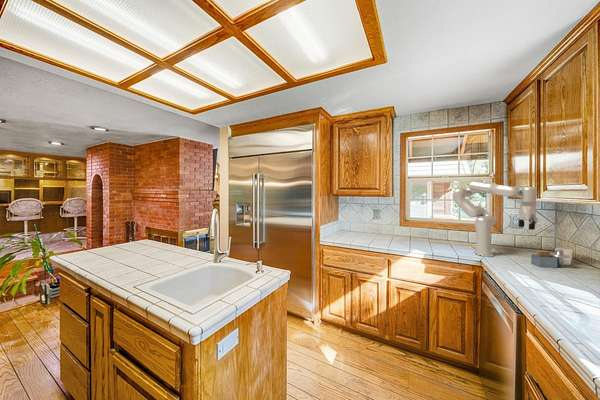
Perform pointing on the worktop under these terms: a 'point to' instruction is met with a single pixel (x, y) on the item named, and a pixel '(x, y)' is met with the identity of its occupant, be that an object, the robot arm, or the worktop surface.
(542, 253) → the wedge peg
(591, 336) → the worktop surface
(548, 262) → the grey boxy piece
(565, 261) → the white cup
